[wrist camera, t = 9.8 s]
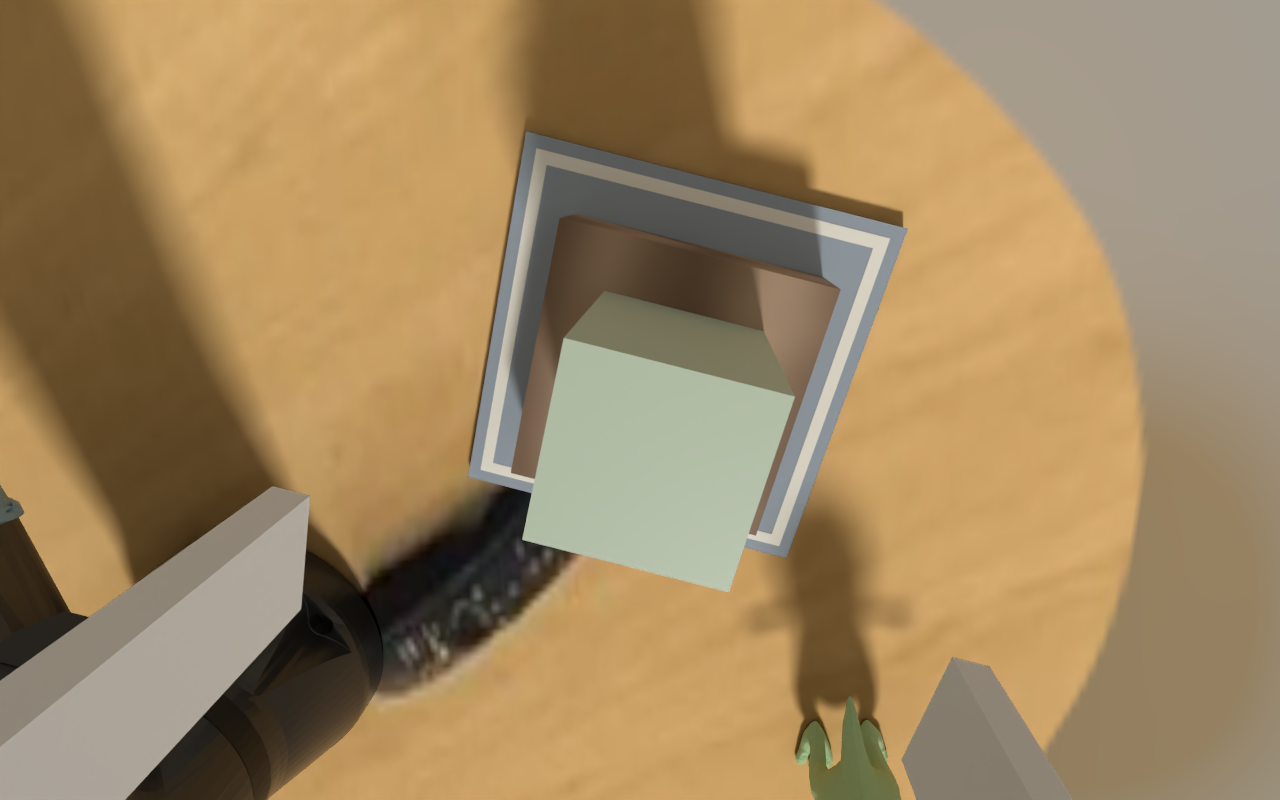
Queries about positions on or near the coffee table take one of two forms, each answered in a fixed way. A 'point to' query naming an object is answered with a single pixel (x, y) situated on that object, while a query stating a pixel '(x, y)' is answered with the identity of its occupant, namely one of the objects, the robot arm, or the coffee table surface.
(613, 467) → the sage block
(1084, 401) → the coffee table surface
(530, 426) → the foundation block
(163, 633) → the robot arm
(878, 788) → the toy
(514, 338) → the grey square plate
